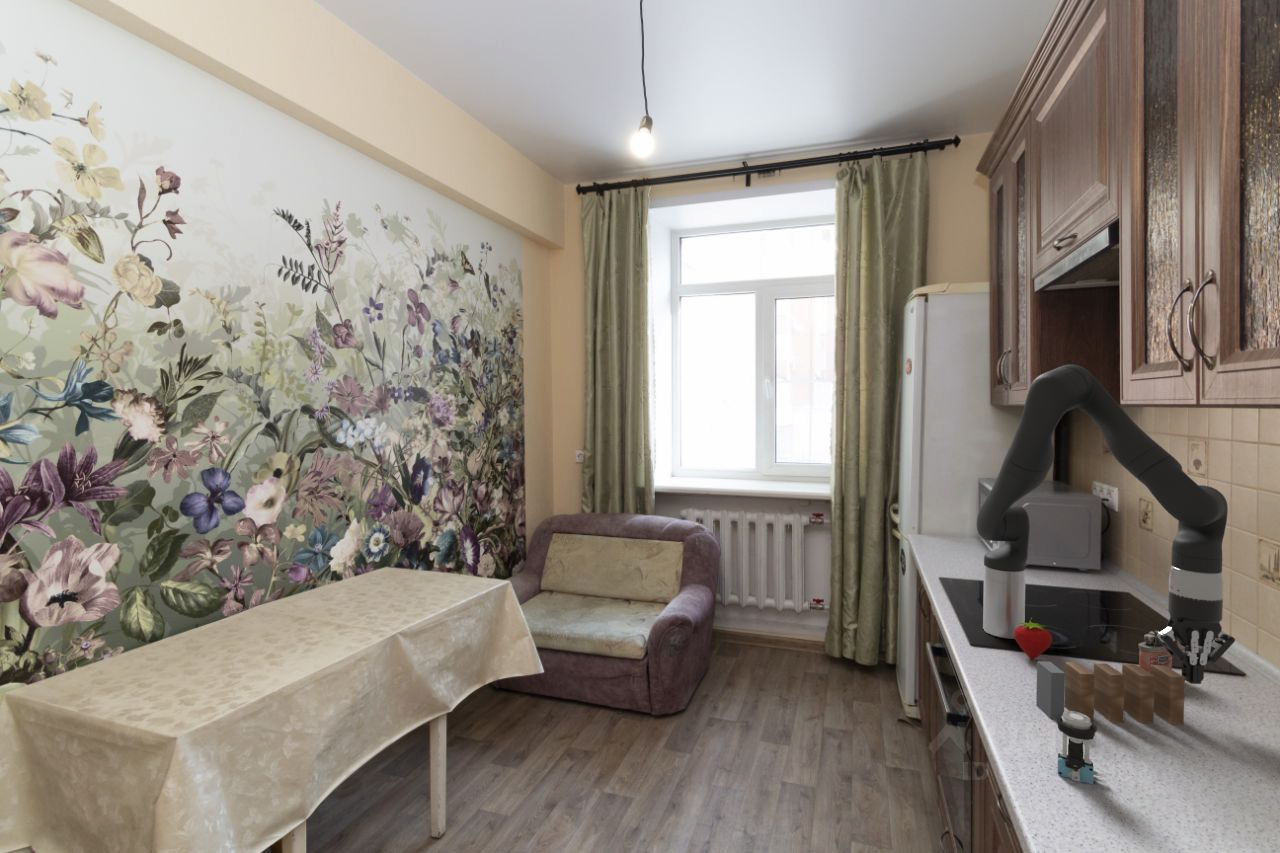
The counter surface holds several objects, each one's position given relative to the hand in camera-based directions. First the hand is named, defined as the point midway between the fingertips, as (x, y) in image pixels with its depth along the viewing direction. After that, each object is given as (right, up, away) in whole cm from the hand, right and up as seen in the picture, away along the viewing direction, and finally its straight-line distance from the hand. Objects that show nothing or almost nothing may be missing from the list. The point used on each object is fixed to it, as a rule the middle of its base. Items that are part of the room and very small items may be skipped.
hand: (1192, 681), depth 115 cm
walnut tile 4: (-20, -7, +2) cm, 21 cm away
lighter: (+7, -6, +17) cm, 19 cm away
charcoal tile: (-25, -7, +3) cm, 26 cm away
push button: (-34, -8, -17) cm, 39 cm away
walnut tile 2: (-10, -7, +1) cm, 12 cm away
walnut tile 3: (-15, -7, +2) cm, 16 cm away
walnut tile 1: (-4, -7, +1) cm, 8 cm away
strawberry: (-13, -6, +27) cm, 30 cm away
